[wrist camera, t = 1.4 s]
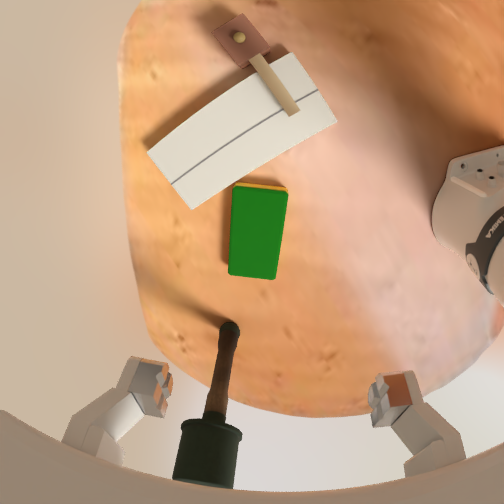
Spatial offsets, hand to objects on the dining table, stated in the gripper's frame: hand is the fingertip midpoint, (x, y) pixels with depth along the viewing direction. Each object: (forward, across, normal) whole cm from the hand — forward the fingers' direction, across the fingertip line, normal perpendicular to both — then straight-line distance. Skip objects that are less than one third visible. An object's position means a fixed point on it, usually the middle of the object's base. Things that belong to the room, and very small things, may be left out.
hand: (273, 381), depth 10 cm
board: (+31, +5, -4) cm, 31 cm away
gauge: (+31, +2, -13) cm, 33 cm away
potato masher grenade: (+31, +6, +30) cm, 43 cm away
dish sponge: (+31, +2, +10) cm, 33 cm away
